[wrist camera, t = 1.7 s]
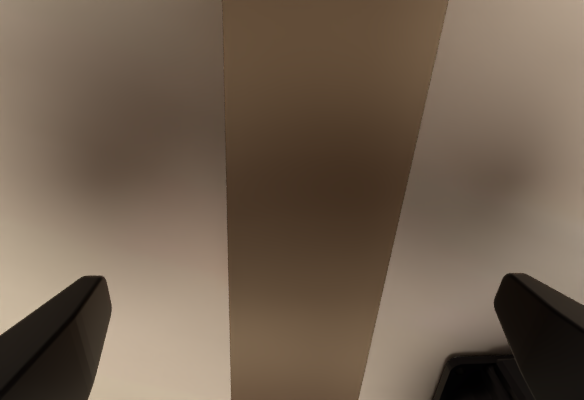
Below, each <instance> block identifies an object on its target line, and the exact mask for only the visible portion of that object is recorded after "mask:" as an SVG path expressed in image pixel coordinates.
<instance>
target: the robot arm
mask: <svg viewBox="0 0 584 400" xmlns="http://www.w3.org/2000/svg"><path fill="white" fill-rule="evenodd" d="M494 308H495V311H496V314H497V316H498V319H499V321H500V324H501V326H502V329H503V331H504V333H505V336H506V338H507V341H508V343H509V346H510V348H511V351H512V353H513V355H500V356H465V357H455V358H453V359H451V360H449V361H448V362H447V364H446V366H445V369H444V372H443V374H442V377H441V380H440V382H439V385H438V388H437V391H436V393H435V396H434V399H433V400H584V305H582V304H580V303H578V302H576V301H575V300H573V299H571V298H569V297H567V296H565V295H564V294H562V293H560V292H558V291H556V290H554V289H553V288H551V287H549V286H547V285H545V284H543V283H542V282H540V281H538V280H536V279H534V278H532V277H531V276H529V275H527V274H524V273H508V274H506V275H505V276H504V277H503V279H502V281H501V284H500V286H499V289H498V291H497V294H496V296H495V299H494ZM111 311H112V305H111V300H110V295H109V291H108V286H107V282H106V279H105V277H103V276H83V277H81V278H80V279H78V280H77V281H75V282H74V283H73V284H71V285H70V286H68V287H67V288H66V289H64V290H63V291H61V292H60V293H59V294H57V295H56V296H54V297H53V298H52V299H50V300H49V301H47V302H46V303H45V304H43V305H42V306H41V307H39V308H38V309H36V310H35V311H34V312H32V313H31V314H29V315H28V316H27V317H25V318H24V319H22V320H21V321H20V322H18V323H17V324H15V325H14V326H13V327H11V328H10V329H8V330H7V331H6V332H4V333H3V334H2V335H0V400H88V398H89V395H90V392H91V389H92V386H93V383H94V380H95V376H96V373H97V369H98V365H99V361H100V357H101V353H102V349H103V345H104V341H105V337H106V333H107V329H108V325H109V321H110V317H111Z"/></svg>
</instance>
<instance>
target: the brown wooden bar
mask: <svg viewBox="0 0 584 400" xmlns="http://www.w3.org/2000/svg"><path fill="white" fill-rule="evenodd" d="M448 1H449V0H222V7H223V52H224V97H225V141H226V186H227V231H228V276H229V321H230V366H231V400H358V398H359V394H360V389H361V385H362V381H363V376H364V372H365V367H366V363H367V359H368V354H369V350H370V345H371V341H372V336H373V332H374V328H375V323H376V319H377V314H378V310H379V306H380V301H381V297H382V292H383V288H384V283H385V279H386V275H387V270H388V266H389V261H390V257H391V252H392V248H393V244H394V239H395V235H396V230H397V226H398V222H399V217H400V213H401V208H402V204H403V199H404V195H405V191H406V186H407V182H408V177H409V173H410V169H411V164H412V160H413V155H414V151H415V146H416V142H417V138H418V133H419V129H420V124H421V120H422V116H423V111H424V107H425V102H426V98H427V93H428V89H429V85H430V80H431V76H432V71H433V67H434V62H435V58H436V54H437V49H438V45H439V40H440V36H441V32H442V27H443V23H444V18H445V14H446V9H447V5H448Z"/></svg>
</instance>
